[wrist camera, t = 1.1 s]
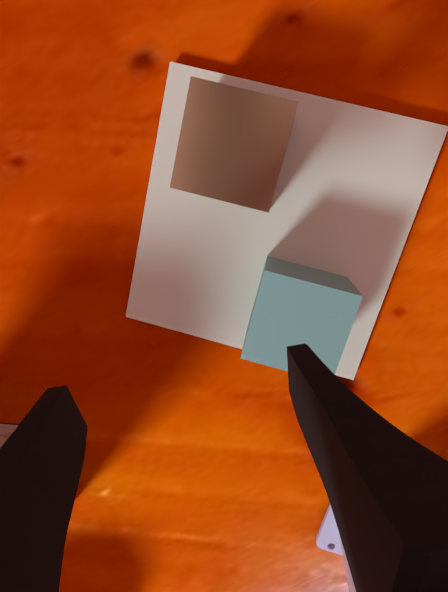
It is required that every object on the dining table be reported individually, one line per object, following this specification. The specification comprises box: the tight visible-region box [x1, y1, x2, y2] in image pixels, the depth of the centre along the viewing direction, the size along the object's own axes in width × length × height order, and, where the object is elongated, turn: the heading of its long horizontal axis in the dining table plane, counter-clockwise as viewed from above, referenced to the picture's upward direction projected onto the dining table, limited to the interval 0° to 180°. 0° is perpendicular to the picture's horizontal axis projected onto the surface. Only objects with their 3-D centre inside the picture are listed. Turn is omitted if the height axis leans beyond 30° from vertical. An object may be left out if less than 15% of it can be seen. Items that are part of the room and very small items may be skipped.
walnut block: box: [170, 76, 298, 213], centre depth 18 cm, size 4×4×4 cm
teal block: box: [241, 256, 363, 374], centre depth 20 cm, size 4×4×4 cm
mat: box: [126, 62, 448, 380], centre depth 21 cm, size 14×14×1 cm
